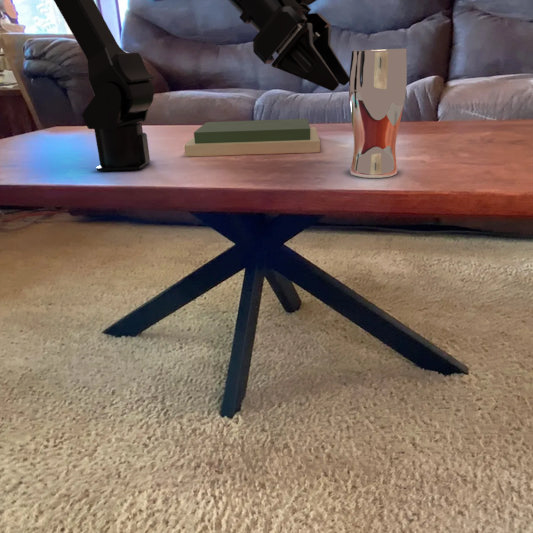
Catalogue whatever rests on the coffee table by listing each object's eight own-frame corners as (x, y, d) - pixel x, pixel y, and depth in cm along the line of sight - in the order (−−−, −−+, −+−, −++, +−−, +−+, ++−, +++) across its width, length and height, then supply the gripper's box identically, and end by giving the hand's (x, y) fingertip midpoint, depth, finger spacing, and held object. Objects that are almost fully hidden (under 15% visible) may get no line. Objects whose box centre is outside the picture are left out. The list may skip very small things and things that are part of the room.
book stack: (185, 156, 83) (183, 134, 82) (201, 140, 98) (199, 121, 97) (320, 152, 82) (320, 129, 81) (315, 136, 97) (315, 117, 96)
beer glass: (399, 167, 70) (406, 48, 64) (402, 179, 63) (410, 48, 58) (347, 167, 71) (350, 50, 65) (345, 178, 65) (348, 51, 59)
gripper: (276, -85, 51) (384, 31, 52) (314, -53, 67) (396, 34, 68) (210, 9, 56) (310, 112, 57) (260, 17, 72) (337, 97, 74)
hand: (342, 85), depth 64 cm, fingers open, 9 cm apart
